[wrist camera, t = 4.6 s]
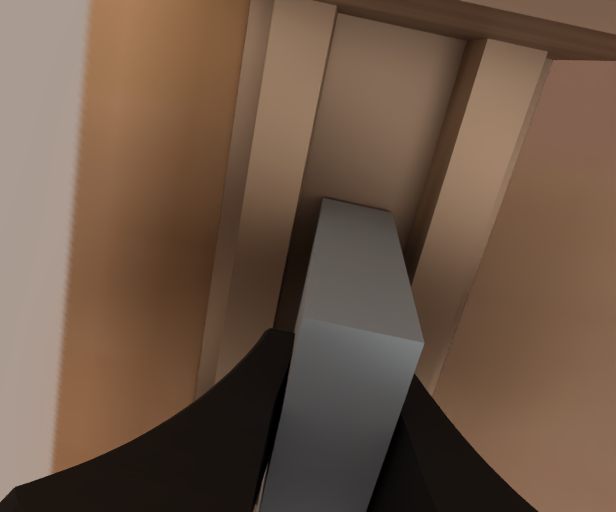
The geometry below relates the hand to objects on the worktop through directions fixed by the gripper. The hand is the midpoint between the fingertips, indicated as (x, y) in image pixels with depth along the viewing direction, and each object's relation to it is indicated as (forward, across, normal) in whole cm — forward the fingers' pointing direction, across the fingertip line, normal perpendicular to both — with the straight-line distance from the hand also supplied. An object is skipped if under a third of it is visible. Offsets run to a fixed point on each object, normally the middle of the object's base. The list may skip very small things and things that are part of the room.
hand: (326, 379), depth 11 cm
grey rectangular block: (+3, 0, 0) cm, 3 cm away
